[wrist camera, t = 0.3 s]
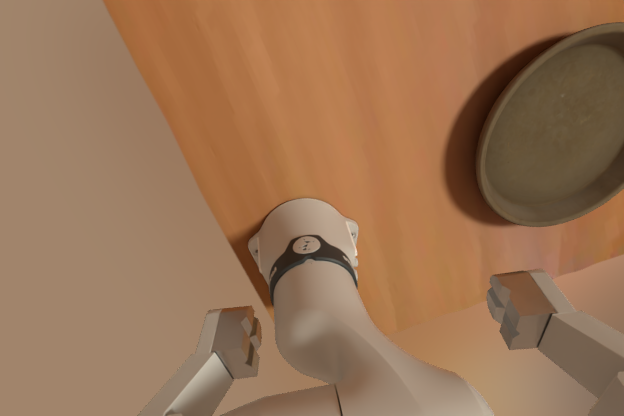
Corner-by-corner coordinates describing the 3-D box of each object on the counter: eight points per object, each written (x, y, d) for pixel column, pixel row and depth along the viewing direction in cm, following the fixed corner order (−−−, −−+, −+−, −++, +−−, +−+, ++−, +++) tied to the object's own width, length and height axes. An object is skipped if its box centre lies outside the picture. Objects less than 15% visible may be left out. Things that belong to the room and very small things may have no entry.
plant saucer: (658, -23, 45) (696, -27, 41) (647, 165, 60) (675, 175, 56) (442, 90, 48) (458, 96, 45) (483, 241, 64) (498, 255, 60)
